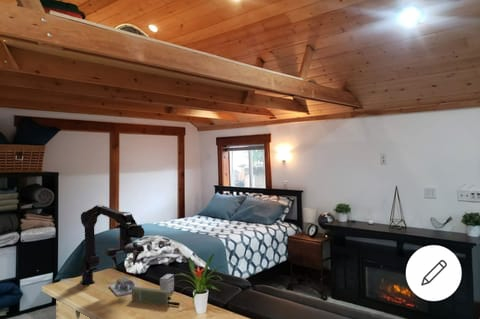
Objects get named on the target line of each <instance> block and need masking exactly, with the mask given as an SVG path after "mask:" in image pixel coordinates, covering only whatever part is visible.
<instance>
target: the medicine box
mask: <svg viewBox="0 0 480 319" xmlns="http://www.w3.org/2000/svg"><path fill="white" fill-rule="evenodd" d="M159 290H166V291H171V292H170V294H172V293H173V292H174V291H175V275H174V273H173V274H172V273H166V274H164V275H163V276H162V277H160V278H159Z"/></svg>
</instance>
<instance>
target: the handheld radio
mask: <svg viewBox="0 0 480 319" xmlns="http://www.w3.org/2000/svg"><path fill="white" fill-rule="evenodd" d="M170 292H171V291H166V290H160V289H157V288H150V287H149V288H147V287H139V286H138V287H132V293H131V302H135V303H142V304H151V305H159V306H169V305H171V306H180V305H181V304H180V302H176V301H171V299H172V298H171V297H170V296H171V294H172V293H171V294H170Z"/></svg>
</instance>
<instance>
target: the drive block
mask: <svg viewBox="0 0 480 319" xmlns="http://www.w3.org/2000/svg"><path fill="white" fill-rule="evenodd" d="M116 282H117V287H118V285H120V288H121V289H122V290H124V291H125V290H127V286H128V285H129V289H132V287H133V282H134V280H132V279H131V280H130V279H129V278H128V277H122V278H117V279H116Z"/></svg>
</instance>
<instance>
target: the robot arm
mask: <svg viewBox="0 0 480 319" xmlns="http://www.w3.org/2000/svg"><path fill="white" fill-rule="evenodd" d="M101 215H103V216H105V217H107V218H111V219H113V220H114V221H115V222H116V223H117V224H118V225H116V229H119V238H118V241H119V246H118V249H116V248H114V247H112V248H106V250H105V255H106V257H109V258H111V260H112V262H113V265H114V267H115V269H117V268H118V263H117V262H118V261H117V258H118V256H117V254H121V253H122V254H124V255H128V254H132V265H133V266H135V265H136V263H137V259H138V257H139V256H140V254H142V253H143V252H144V251H145V247H144V246H143V245H142V244H138V242H133V240H132V238H133V239H142V238H143V237H144V236H145V230H144V227H143V226H142V225H141V224H137V221H136V220H135V218H134V216H133V214H132V213H131V212H127V211H119V210H115V209H113V208H110V207H108V206H105V205H104V204H97V205H95V206H93V207H92V208H90V209H87V210H86V211H83V212H82V213H81V214H80V221H81V222H80V223H81V224H82V226H83V227H84V256H83V257H82V261H81V265H80V266H79V267H78V268H77V273H78V274H81V280H79V282H80V284H81V286H85V285H90V284H95V283H96V281H95V280H94V271H96V270H97V269H98V266H100V265H99V264H100V255H99V254H97V253H96V245H95V244H96V242H95V241H96V240H95V234H96V233H95V227H96V224H97V222H98V217H100V216H101Z"/></svg>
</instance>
